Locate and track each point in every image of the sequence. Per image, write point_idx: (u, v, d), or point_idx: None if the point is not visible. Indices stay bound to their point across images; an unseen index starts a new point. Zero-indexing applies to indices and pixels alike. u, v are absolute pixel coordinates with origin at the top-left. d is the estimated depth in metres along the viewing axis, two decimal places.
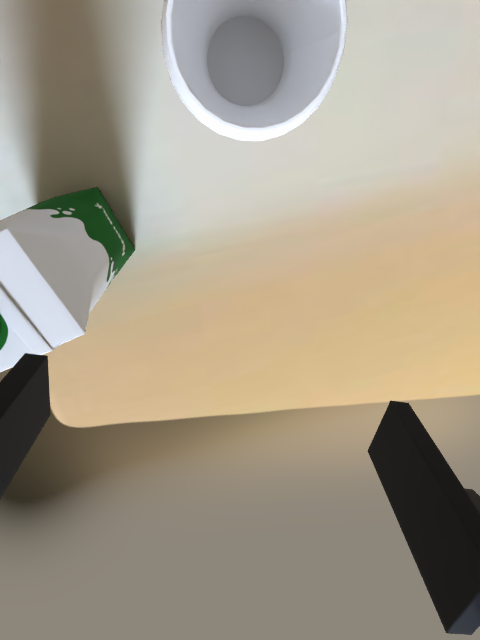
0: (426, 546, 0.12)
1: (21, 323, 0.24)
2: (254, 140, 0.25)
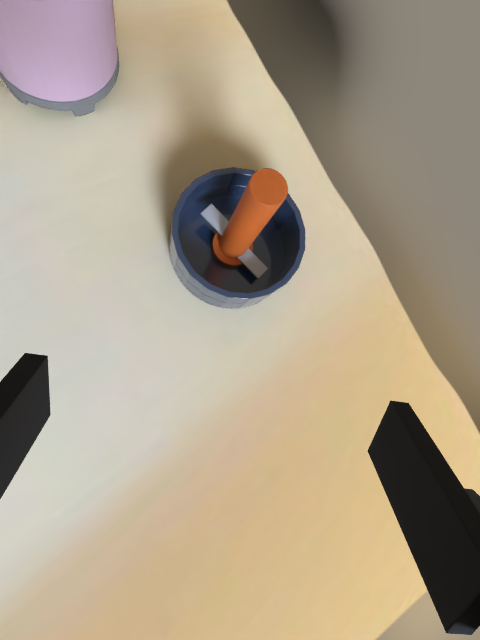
0: (426, 546, 0.12)
1: None
2: None
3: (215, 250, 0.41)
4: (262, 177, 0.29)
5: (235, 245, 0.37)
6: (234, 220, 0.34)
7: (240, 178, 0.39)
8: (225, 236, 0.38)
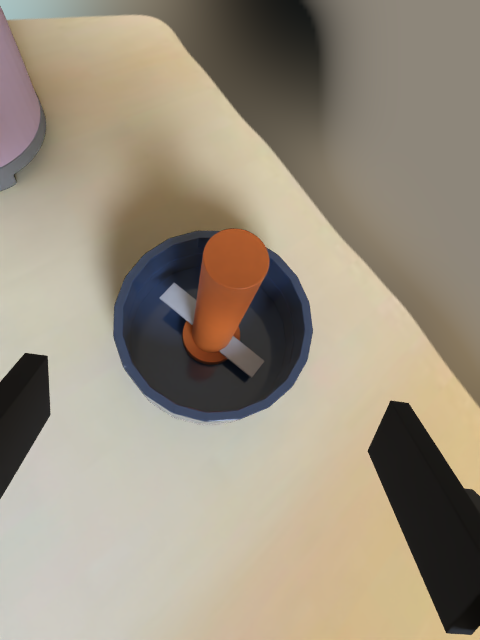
0: (426, 546, 0.12)
1: None
2: None
3: (187, 345, 0.29)
4: (224, 244, 0.17)
5: (209, 340, 0.25)
6: (198, 309, 0.22)
7: None
8: (195, 327, 0.26)
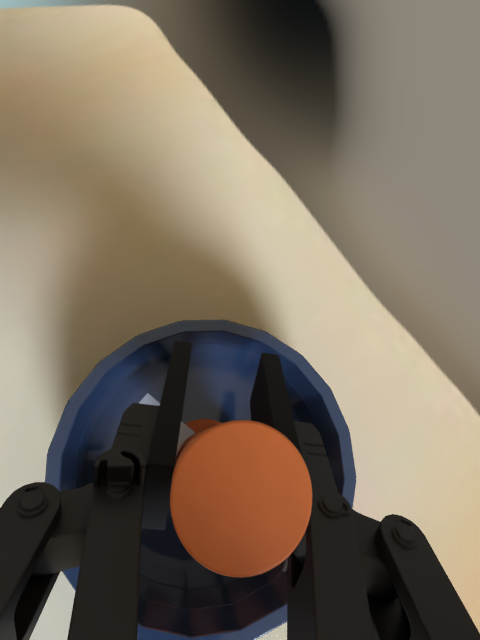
0: None
1: None
2: None
3: None
4: (217, 462, 0.08)
5: None
6: None
7: (200, 336, 0.19)
8: None
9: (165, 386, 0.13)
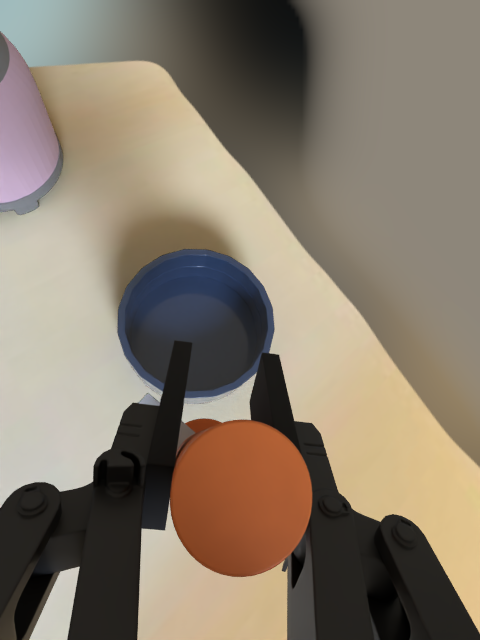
0: None
1: None
2: None
3: None
4: (216, 461, 0.08)
5: None
6: None
7: (194, 259, 0.35)
8: None
9: (165, 386, 0.13)
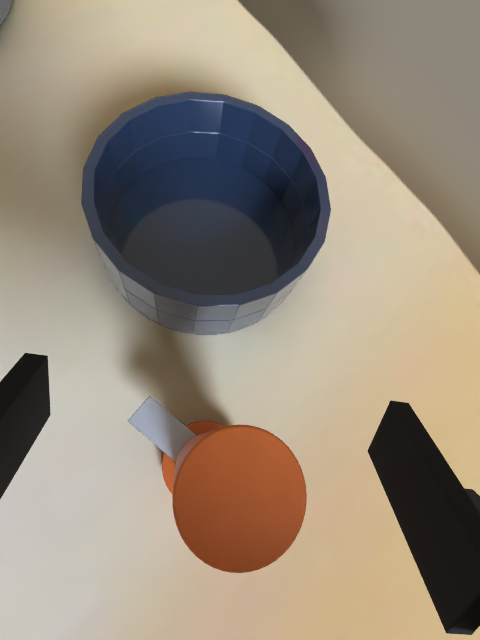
0: (426, 546, 0.12)
1: None
2: None
3: (168, 482, 0.20)
4: (216, 464, 0.09)
5: None
6: None
7: (204, 112, 0.23)
8: None
9: None
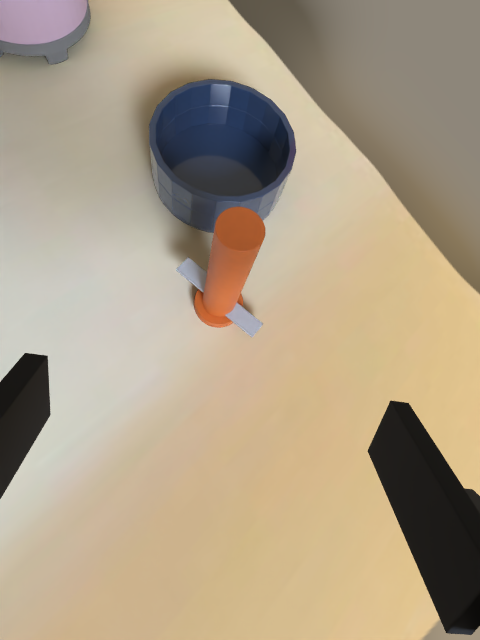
0: (426, 546, 0.12)
1: None
2: None
3: (198, 309, 0.34)
4: (231, 218, 0.23)
5: (217, 302, 0.31)
6: (210, 273, 0.27)
7: (219, 92, 0.37)
8: (205, 293, 0.32)
9: None
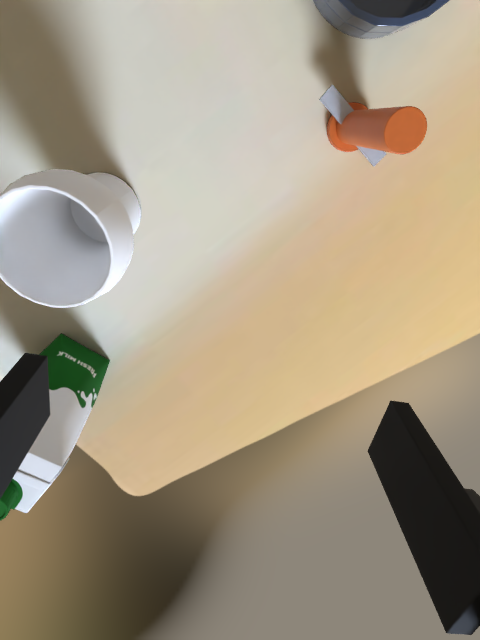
0: (426, 546, 0.12)
1: (22, 477, 0.35)
2: None
3: (331, 136, 0.39)
4: (400, 119, 0.26)
5: (355, 145, 0.36)
6: (359, 136, 0.32)
7: None
8: (345, 133, 0.36)
9: None
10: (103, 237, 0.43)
